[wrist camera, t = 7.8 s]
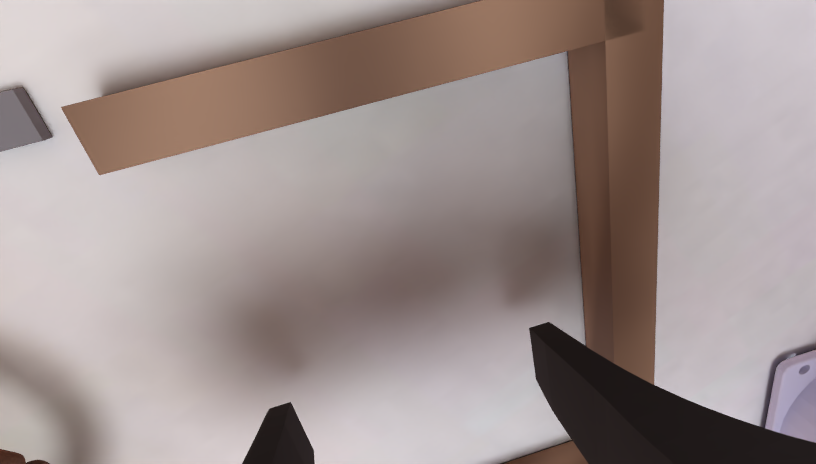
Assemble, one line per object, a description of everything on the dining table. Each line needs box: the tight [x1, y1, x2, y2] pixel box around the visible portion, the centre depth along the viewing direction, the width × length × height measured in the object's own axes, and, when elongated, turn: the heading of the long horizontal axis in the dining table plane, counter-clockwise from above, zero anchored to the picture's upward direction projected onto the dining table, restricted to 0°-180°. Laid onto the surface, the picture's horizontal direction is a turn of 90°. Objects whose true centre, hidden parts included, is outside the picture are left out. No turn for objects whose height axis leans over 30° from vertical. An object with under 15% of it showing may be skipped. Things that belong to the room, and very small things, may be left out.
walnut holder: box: [61, 0, 664, 464], centre depth 14 cm, size 14×19×2 cm
